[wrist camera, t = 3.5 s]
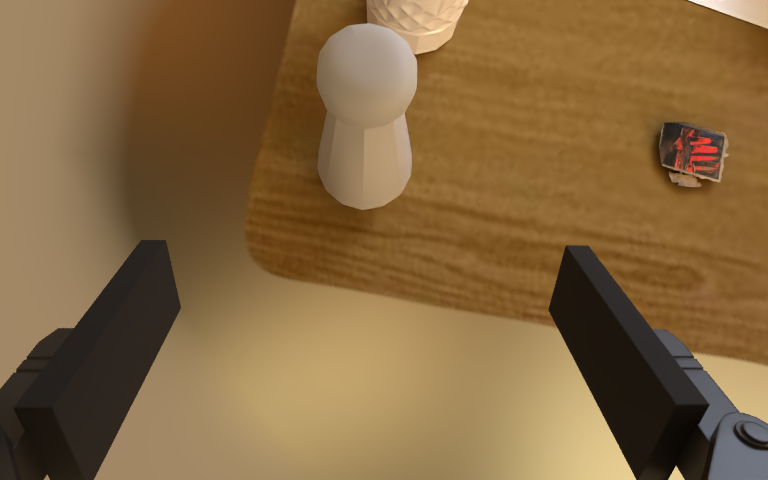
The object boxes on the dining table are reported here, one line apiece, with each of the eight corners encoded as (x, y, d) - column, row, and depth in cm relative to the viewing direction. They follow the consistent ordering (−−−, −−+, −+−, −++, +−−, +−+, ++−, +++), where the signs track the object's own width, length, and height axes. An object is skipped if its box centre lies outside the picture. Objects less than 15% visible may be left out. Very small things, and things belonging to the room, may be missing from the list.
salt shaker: (417, 150, 33) (455, 18, 20) (395, 229, 31) (422, 140, 19) (333, 128, 33) (319, -19, 20) (308, 205, 31) (276, 100, 19)
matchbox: (654, 122, 34) (658, 119, 34) (724, 127, 34) (729, 124, 34) (660, 185, 33) (665, 183, 32) (733, 189, 33) (739, 187, 33)
